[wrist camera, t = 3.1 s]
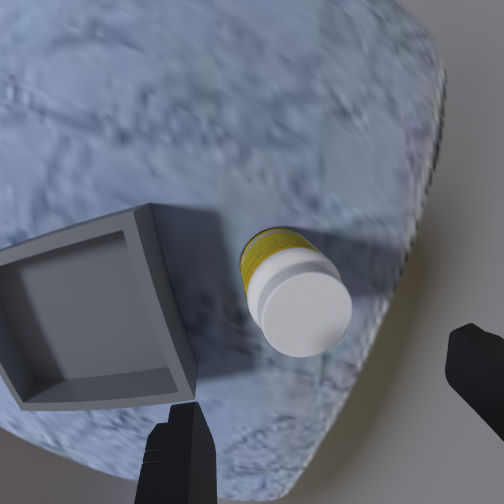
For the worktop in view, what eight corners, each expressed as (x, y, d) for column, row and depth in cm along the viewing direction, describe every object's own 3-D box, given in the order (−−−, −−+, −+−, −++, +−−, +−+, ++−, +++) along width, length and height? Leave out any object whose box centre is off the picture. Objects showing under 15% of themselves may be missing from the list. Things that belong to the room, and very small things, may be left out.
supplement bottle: (224, 266, 21) (226, 327, 13) (271, 209, 20) (305, 236, 12) (279, 308, 22) (309, 381, 14) (325, 256, 21) (381, 305, 13)
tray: (-15, 254, 19) (-45, 269, 15) (149, 202, 19) (132, 210, 16) (40, 383, 22) (21, 410, 18) (197, 365, 23) (194, 399, 19)
